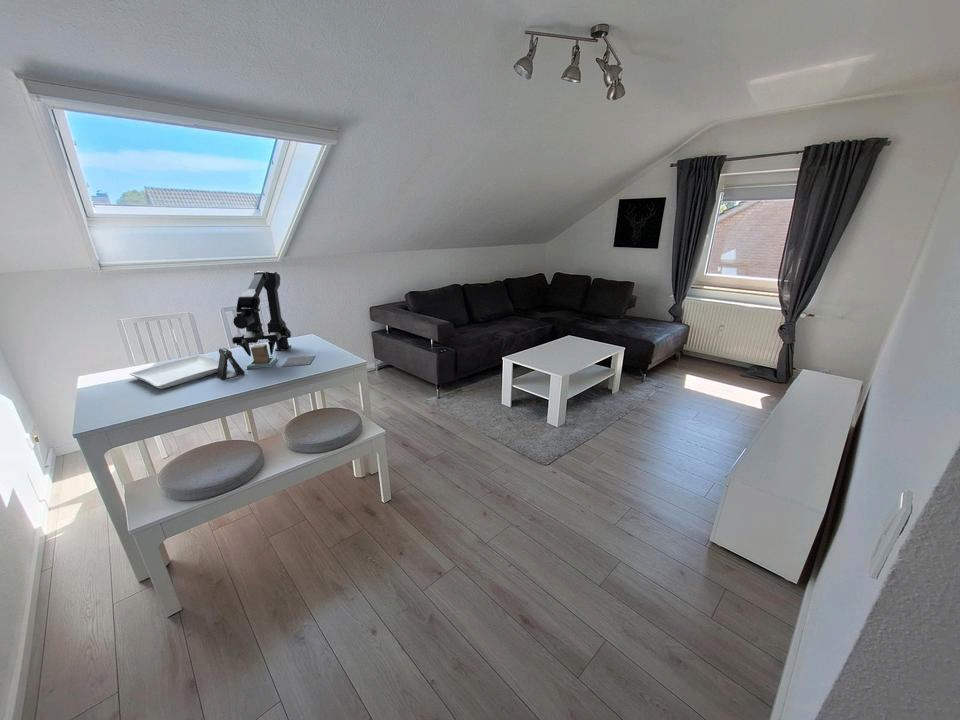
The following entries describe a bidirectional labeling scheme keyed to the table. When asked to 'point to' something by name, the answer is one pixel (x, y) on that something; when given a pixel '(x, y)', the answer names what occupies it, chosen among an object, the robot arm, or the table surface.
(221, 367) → the phone stand
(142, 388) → the table surface
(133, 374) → the square plate
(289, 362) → the pad
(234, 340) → the robot arm
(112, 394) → the table surface
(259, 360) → the oak block
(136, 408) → the table surface
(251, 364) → the pocket frame
